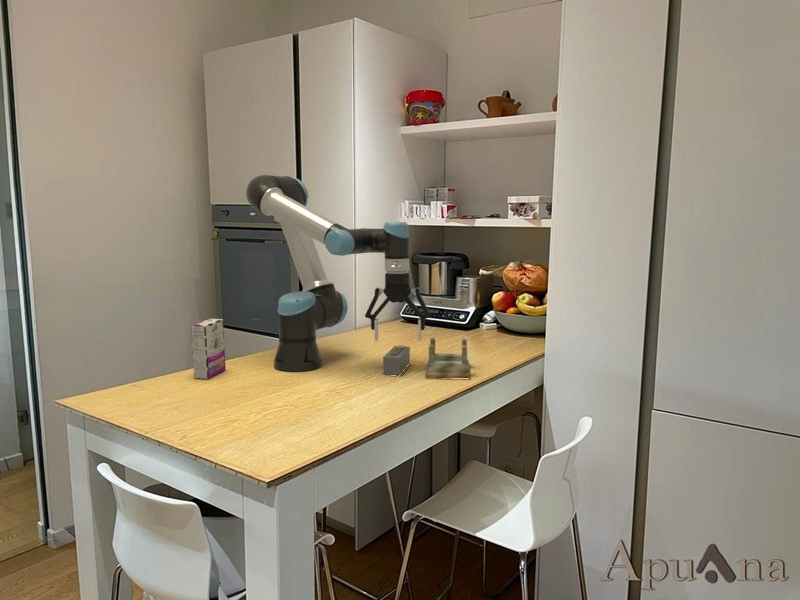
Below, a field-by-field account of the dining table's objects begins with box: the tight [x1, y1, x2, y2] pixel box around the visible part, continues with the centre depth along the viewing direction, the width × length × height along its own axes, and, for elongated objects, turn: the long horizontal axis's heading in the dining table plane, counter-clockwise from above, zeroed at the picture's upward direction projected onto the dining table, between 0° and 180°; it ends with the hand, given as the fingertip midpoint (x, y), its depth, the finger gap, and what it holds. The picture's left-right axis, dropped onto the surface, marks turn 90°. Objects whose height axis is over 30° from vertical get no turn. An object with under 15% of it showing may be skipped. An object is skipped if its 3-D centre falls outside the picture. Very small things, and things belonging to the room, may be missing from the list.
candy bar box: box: [190, 318, 227, 380], centre depth 187 cm, size 11×5×16 cm, turn 168°
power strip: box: [382, 344, 411, 377], centre depth 194 cm, size 5×16×6 cm, turn 168°
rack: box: [424, 337, 470, 379], centre depth 193 cm, size 13×20×9 cm, turn 175°
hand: (398, 340), depth 193 cm, fingers open, 13 cm apart
